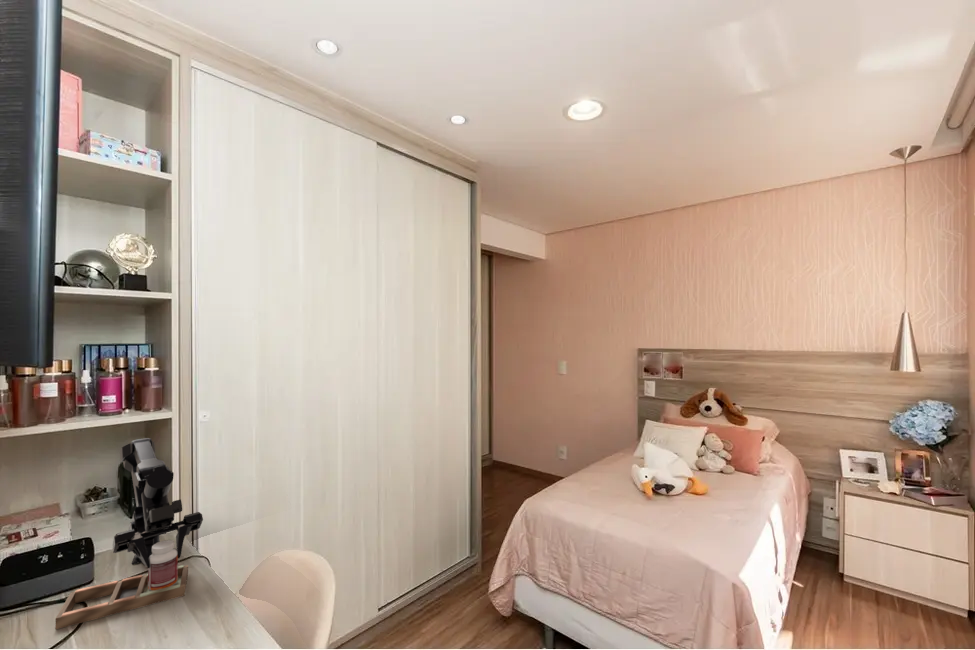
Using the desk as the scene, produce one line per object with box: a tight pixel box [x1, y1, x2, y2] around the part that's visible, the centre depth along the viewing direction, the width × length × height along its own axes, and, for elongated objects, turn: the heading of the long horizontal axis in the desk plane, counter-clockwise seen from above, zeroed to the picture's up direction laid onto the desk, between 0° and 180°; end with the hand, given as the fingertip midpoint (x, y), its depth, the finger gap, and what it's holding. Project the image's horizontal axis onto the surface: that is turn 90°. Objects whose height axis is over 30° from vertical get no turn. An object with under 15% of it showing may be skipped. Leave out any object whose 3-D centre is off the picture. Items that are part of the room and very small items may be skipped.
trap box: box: [55, 564, 189, 630], centre depth 109 cm, size 24×11×3 cm, turn 121°
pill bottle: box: [147, 539, 179, 591], centre depth 112 cm, size 6×6×11 cm
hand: (164, 562), depth 111 cm, fingers closed on pill bottle, 6 cm apart
